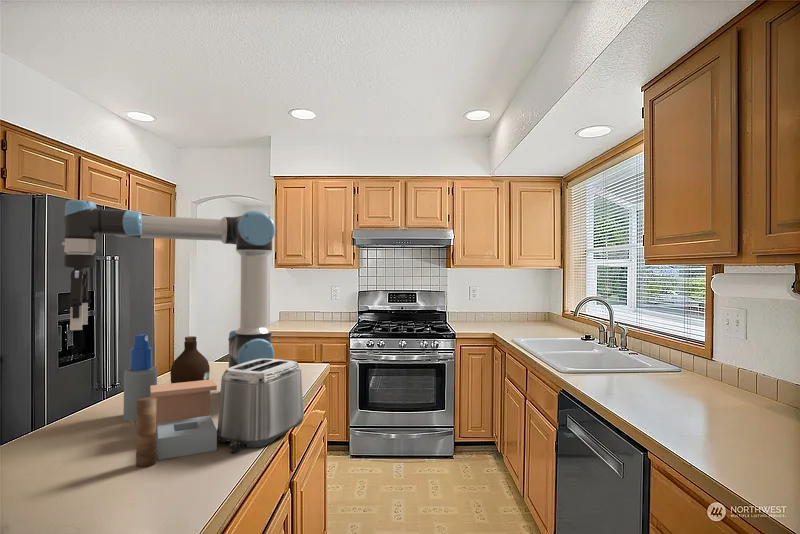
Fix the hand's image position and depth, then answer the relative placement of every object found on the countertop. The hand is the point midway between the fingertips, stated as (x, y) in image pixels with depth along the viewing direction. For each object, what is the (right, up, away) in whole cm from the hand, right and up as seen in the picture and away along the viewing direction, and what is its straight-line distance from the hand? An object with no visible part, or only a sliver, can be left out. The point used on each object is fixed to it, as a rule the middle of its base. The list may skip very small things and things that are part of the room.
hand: (79, 327), depth 136 cm
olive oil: (+31, -28, +3) cm, 42 cm away
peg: (+34, -28, -27) cm, 52 cm away
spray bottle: (+14, -28, +8) cm, 32 cm away
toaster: (+55, -29, -7) cm, 62 cm away
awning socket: (+37, -28, -13) cm, 48 cm away
